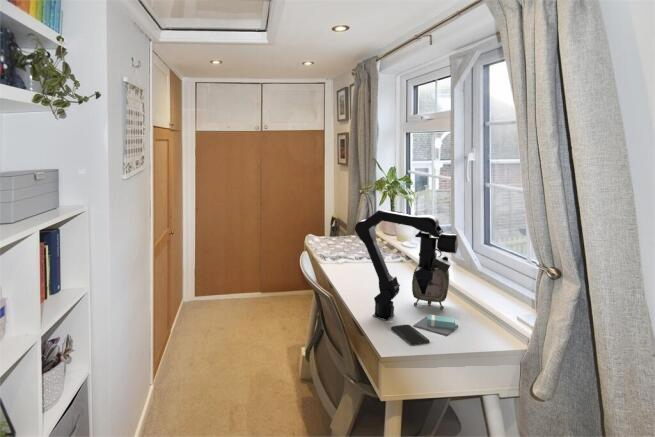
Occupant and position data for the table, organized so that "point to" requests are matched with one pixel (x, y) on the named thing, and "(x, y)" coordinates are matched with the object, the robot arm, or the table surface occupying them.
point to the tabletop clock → (432, 287)
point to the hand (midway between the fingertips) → (424, 290)
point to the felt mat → (433, 327)
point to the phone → (410, 335)
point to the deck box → (441, 321)
